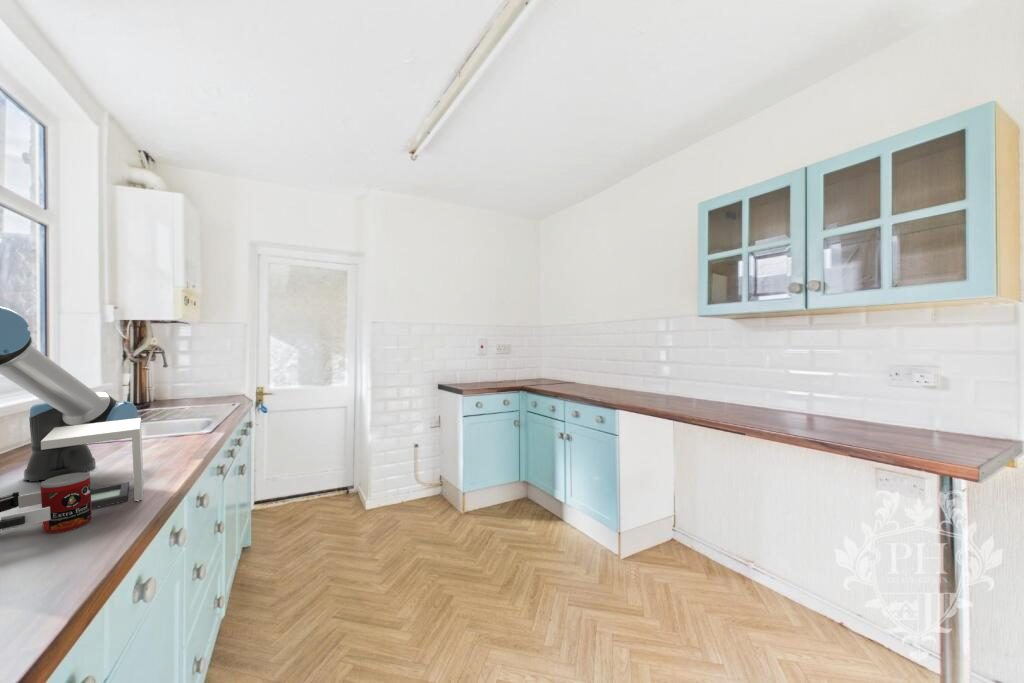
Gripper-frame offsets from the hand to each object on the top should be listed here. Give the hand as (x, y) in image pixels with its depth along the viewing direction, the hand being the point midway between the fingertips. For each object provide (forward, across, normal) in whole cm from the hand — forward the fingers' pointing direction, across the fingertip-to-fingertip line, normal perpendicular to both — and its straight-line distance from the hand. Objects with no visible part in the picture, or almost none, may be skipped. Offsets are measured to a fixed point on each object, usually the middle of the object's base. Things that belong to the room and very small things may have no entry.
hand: (56, 503), depth 92 cm
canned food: (+2, -1, -6) cm, 6 cm away
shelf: (+5, -16, -6) cm, 18 cm away
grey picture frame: (+5, -16, -6) cm, 18 cm away
